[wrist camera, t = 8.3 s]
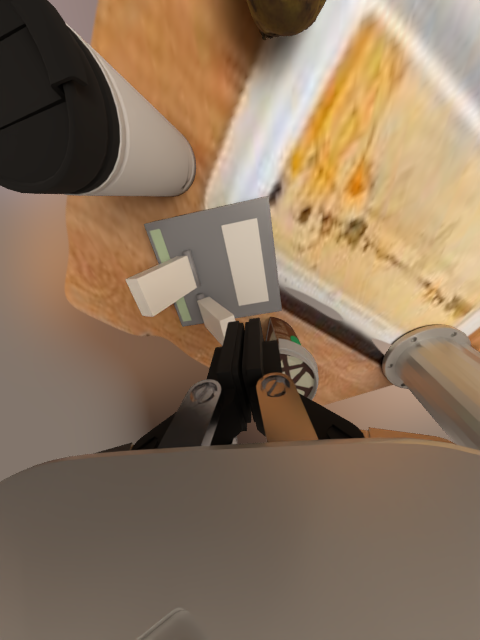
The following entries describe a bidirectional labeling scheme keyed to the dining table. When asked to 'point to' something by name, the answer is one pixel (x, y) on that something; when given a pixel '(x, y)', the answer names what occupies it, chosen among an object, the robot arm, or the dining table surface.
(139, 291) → the paddle on
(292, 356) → the food container
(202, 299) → the paddle
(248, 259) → the panel
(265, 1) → the potato
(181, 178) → the travel mug
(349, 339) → the dining table surface
